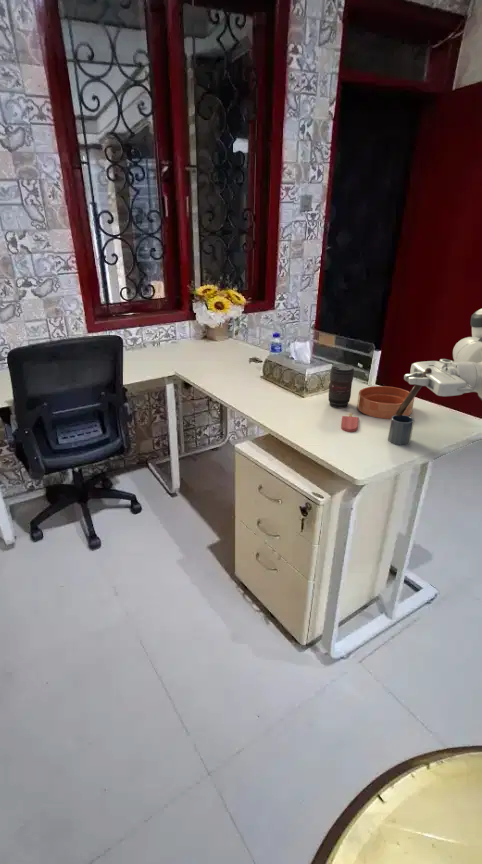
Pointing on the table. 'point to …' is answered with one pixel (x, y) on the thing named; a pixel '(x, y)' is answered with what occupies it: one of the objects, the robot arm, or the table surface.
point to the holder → (400, 430)
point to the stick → (411, 395)
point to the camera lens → (340, 385)
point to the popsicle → (349, 423)
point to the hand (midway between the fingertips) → (406, 379)
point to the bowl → (382, 401)
